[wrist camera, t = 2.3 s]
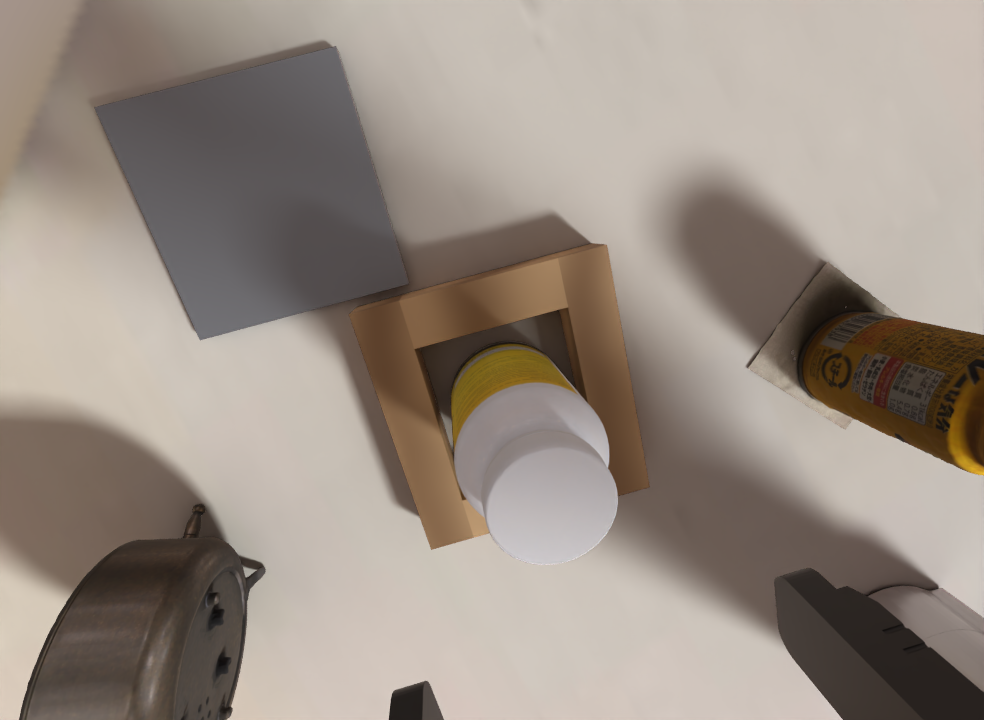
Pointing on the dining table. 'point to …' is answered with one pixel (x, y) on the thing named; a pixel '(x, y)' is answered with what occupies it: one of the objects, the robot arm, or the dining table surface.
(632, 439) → the wooden square frame
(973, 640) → the robot arm
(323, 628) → the dining table surface
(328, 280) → the slate coaster
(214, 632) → the alarm clock
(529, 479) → the pill bottle
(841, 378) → the condiment
